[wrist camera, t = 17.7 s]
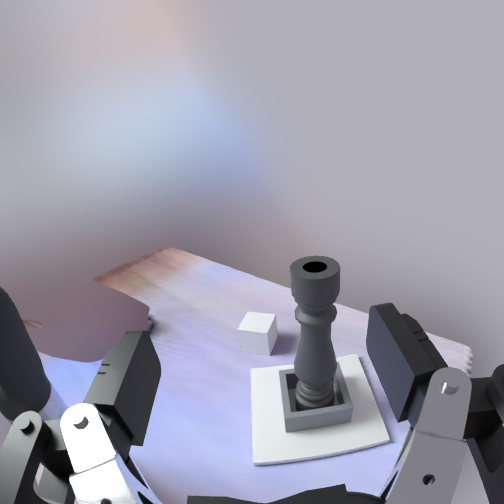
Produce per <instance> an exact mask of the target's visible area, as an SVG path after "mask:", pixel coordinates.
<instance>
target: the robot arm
mask: <svg viewBox="0 0 504 504" xmlns="http://www.w3.org/2000/svg"><path fill="white" fill-rule="evenodd" d="M366 346H367V351H368V355H369V357H370V359H371V361H372V364H373V366H374V368H375V370H376V373H377V375H378V377H379V379H380V382H381V384H382V386H383V389H384V391H385V393H386V396H387V398H388V400H389V403H390V405H391V408H392V410H393V412H394V415H395V417H396V420H397V422H401V421H405V420H409V422H410V425H411V426H410V429H409V431H408V434H407V436H406V439H405V441H404V444H403V446H402V449H401V451H400V453H399V456H398V458H397V460H396V463H395V465H394V467H393V469H392V472H391V474H390V476H389V478H388V479H387V481H386V483H385V485H384V487H383V489H382V490H381V492H380V494H379V496H378V497H377V496H374V495H371V494H366V493H361V492H347V491H346V486H345V484H341V485H336V486H331V487H326V488H320V489H314V490H307V491H304V492H301V493H298V494H296V495H293V496H290V497H287V498H284V499H280V500H277V501H274V502H271V503H257V502H251V501H245V500H239V499H234V498H229V497H210V496H188V498H187V504H450V503H451V500H452V497H453V494H454V491H455V488H456V485H457V482H458V478H459V475H460V472H461V468H462V464H463V460H464V456H465V452H466V447H467V444H468V446H469V448H470V451H471V453H472V456H473V458H474V461H475V463H476V466H477V468H478V471H479V474H480V477H481V479H482V482H483V485H484V488H485V491H486V494H487V497H488V500H489V503H490V504H504V427H503V425H502V424H504V364H503V365H500V366H498V367H497V368H496V369H495V370H494V372H493V374H492V376H491V377H487V378H474V379H473V378H469V377H468V375H467V374H466V373H464V372H463V371H461V370H459V369H457V368H452V367H448V365H447V364H446V362H445V361H444V359H443V358H442V356H441V355H440V353H439V352H438V350H437V349H436V348H435V346H434V345H433V343H432V342H431V340H429V337H428V336H427V335H426V333H425V332H423V329H422V327H421V326H420V325H419V323H418V322H417V321H416V320H415V319H413V318H412V317H410V316H409V315H407V314H401V315H400V313H399V312H398V311H397V309H396V308H395V306H394V305H393V304H392V303H385V304H380V305H374V306H371V308H370V312H369V321H368V330H367V338H366ZM160 377H161V365H160V361H159V358H158V356H157V353H156V351H155V348H154V346H153V343H152V341H151V338H150V336H149V334H148V332H147V331H145V330H144V331H127V332H125V334H124V336H123V338H122V340H121V342H120V344H119V345H115V346H114V347H113V348H112V349H111V350H110V351H109V352H108V353H107V354H106V356H105V357H104V360H103V362H102V366H100V368H99V370H98V374H96V376H95V378H94V380H93V382H92V385H91V387H90V389H89V391H88V393H87V396H86V398H85V400H84V402H83V404H78V405H75V406H73V407H71V408H70V409H69V408H68V407H67V405H66V404H65V403H64V401H63V400H62V398H61V397H60V396H59V394H58V393H57V392H56V390H55V389H54V387H53V386H52V384H51V383H50V381H49V380H48V378H47V377H46V375H45V372H44V369H43V366H42V362H41V359H40V357H39V355H38V353H37V351H36V349H35V347H34V345H33V343H32V341H31V339H30V337H29V335H28V332H27V330H26V328H25V326H24V324H23V321H22V319H21V317H20V315H19V313H18V310H17V308H16V306H15V305H14V303H13V301H12V300H11V298H10V297H9V295H8V294H7V293H6V292H5V291H4V290H3V289H2V288H1V287H0V412H1V413H2V414H3V415H4V417H5V418H6V419H7V420H8V421H9V422H10V423H11V425H12V426H11V429H10V431H9V433H8V435H7V437H6V440H5V442H4V445H3V447H2V449H1V451H0V504H74V501H75V496H76V498H77V501H78V503H79V504H162V502H161V501H160V500H159V499H158V498H157V497H156V495H155V494H154V493H153V491H152V490H151V488H150V486H149V485H148V483H147V481H146V480H145V478H144V477H143V475H142V473H141V471H140V470H139V468H138V466H137V464H136V463H135V461H134V459H133V457H132V456H131V454H130V453H129V451H130V447H131V445H135V446H143V442H144V438H145V434H146V430H147V426H148V422H149V418H150V414H151V410H152V407H153V403H154V399H155V395H156V392H157V388H158V384H159V381H160ZM463 439H466V441H467V443H466V441H463ZM40 463H41V464H42V465H43V466H44V470H43V473H42V476H41V479H40V483H39V486H38V490H37V493H35V491H34V488H33V483H34V479H35V476H36V473H37V470H38V467H39V464H40Z"/></svg>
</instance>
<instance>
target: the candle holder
mask: <svg viewBox="0 0 504 504" xmlns="http://www.w3.org/2000/svg"><path fill="white" fill-rule="evenodd" d="M290 275H291V290H292V296H293V297H294V298H295V302H296V303H297V304H298V306H297V308H296V309H295V318H296V320H297V321H298V322H299V323H300V324H301V340H300V343H299V347H298V351H297V354H296V358H295V361H294V371H295V374H296V376H297V377H298V378H299V381H298V383H297V385H296V390H295V405H296V410H297V412H299V411H306V410H312V409H319V408H325V407H330V406H333V405H334V396H335V391H334V385H333V381H332V380H331V378H332V377H333V376H334V375H335V372H336V369H337V361H336V357H335V353H334V349H333V345H332V341H331V323H332V322H333V321H334V320H335V318H336V315H337V310H336V307H335V306H334V305H333V303H334V302H335V301H336V298H337V296H338V294H339V290H340V265H339V263H338V262H337V261H335V260H334V259H332V258H328V257H324V256H310V257H304V258H301V259H298V260H296V261H295V262H293V263H292V265H291V266H290Z"/></svg>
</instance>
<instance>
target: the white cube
mask: <svg viewBox="0 0 504 504" xmlns="http://www.w3.org/2000/svg"><path fill="white" fill-rule="evenodd" d="M237 331H238V336H239V341H240V347H241V352H246V353H253V354H260V355H267V356H270V354H271V352H272V350H273V347H274V345H275V343H276V340H277V338H278V332H277V321H276V314H265V313H255V312H247V314H246V316H245V317H244V319H243V321H242V322H241V324H240V326H239V327H238V329H237Z"/></svg>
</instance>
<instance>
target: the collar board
mask: <svg viewBox="0 0 504 504" xmlns="http://www.w3.org/2000/svg"><path fill="white" fill-rule="evenodd" d="M336 361H337V369H336V372H335V375H334V376H333V377H332V378H331V380H332V381H333V385H334V391H335V396H334V405H333V406H330V407H325V408H319V409H312V410H306V411H299V412H297V410H296V405H295V390H296V385H297V383H298V381H299V378H298V377H297V376H296V374H295V371H294V364H290V365H283V366H274V367H265V368H255V369H251V404H252V443H253V465H254V466H257V465H270V464H280V463H289V462H297V461H304V460H311V459H317V458H323V457H329V456H334V455H339V454H344V453H349V452H353V451H358V450H362V449H366V448H370V447H374V446H378V445H381V444H385V443H389V440H390V438H389V435H388V433H387V430H386V427H385V424H384V422H383V419H382V416H381V414H380V411H379V409H378V406H377V403H376V401H375V398H374V396H373V393H372V391H371V388H370V385H369V383H368V380H367V378H366V375H365V373H364V370H363V368H362V366H361V363H360V361H359V358H358V356H357V354H353V355H348V356H342V357H337V358H336Z"/></svg>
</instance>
